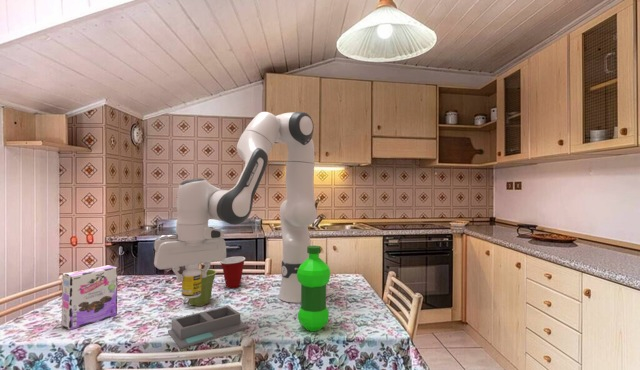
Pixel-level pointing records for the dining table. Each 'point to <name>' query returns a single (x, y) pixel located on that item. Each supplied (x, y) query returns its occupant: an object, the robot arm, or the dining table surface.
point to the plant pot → (204, 289)
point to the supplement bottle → (191, 281)
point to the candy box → (89, 296)
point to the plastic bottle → (313, 290)
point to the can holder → (205, 326)
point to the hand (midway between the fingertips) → (191, 279)
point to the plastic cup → (233, 271)
